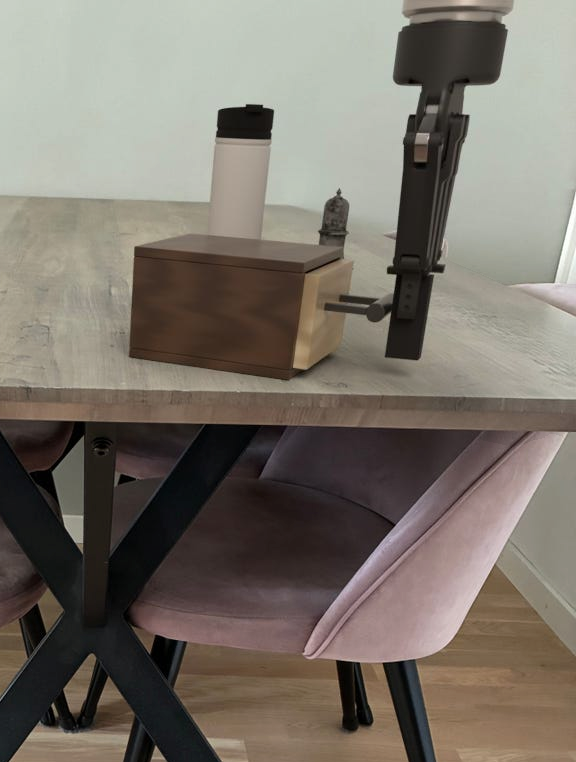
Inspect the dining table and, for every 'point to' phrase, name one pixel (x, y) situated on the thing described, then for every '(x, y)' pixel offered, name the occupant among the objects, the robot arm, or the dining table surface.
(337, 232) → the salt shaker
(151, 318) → the cabinet
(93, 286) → the dining table surface
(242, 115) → the travel mug
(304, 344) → the drawer
